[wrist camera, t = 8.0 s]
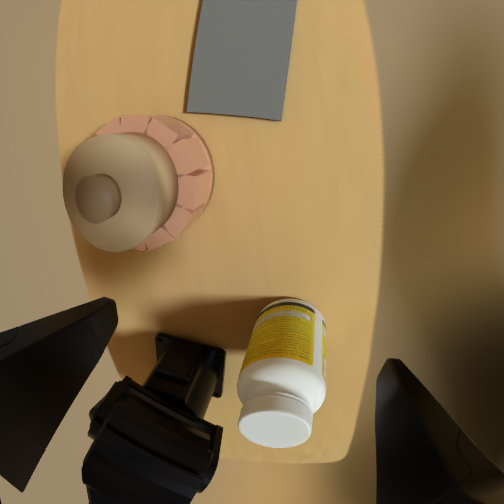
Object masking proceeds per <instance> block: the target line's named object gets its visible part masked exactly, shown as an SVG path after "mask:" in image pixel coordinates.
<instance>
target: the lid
mask: <svg viewBox="0 0 504 504" xmlns="http://www.w3.org/2000/svg"><path fill="white" fill-rule="evenodd" d="M178 191H179V188H178V176H177V172H176V168H175V165H174V163H173V161H172V159H171V157H170V155H169V153H168V152H167V151H166V149H165V148H164V147H163V146H162V145H161V144H160V143H159V142H158V141H157V140H155V139H154V138H152V137H150V136H148V135H146V134H143V133H139V132H124V133H116V134H107V135H100V136H95V137H92V138H90V139H87V140H86V141H84V142H83V143H81V144H80V145H79V146H78V147H77V148H76V149H75V151H74V152H73V153H72V155H71V157H70V158H69V161H68V163H67V165H66V169H65V172H64V178H63V197H64V202H65V207H66V210H67V213H68V215H69V218H70V220H71V222H72V224H73V225H74V227H75V228H76V230H77V231H78V232H79V234H80V235H81V236H82V237H83V238H84V239H85V240H86V241H87V242H89V243H90V244H91V245H93V246H94V247H96V248H98V249H101V250H103V251H107V252H124V251H127V250H130V249H132V248H134V247H135V246H136V245H138V244H139V243H140V242H142V241H143V240H144V239H146V238H147V237H148V236H150V235H151V234H152V233H154V232H155V231H156V230H158V229H159V228H161V227H162V226H163V225H164V224H165V223H166V222H167V221H168V219H169V218H170V217H171V215H172V213H173V211H174V209H175V206H176V203H177V199H178Z"/></svg>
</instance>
